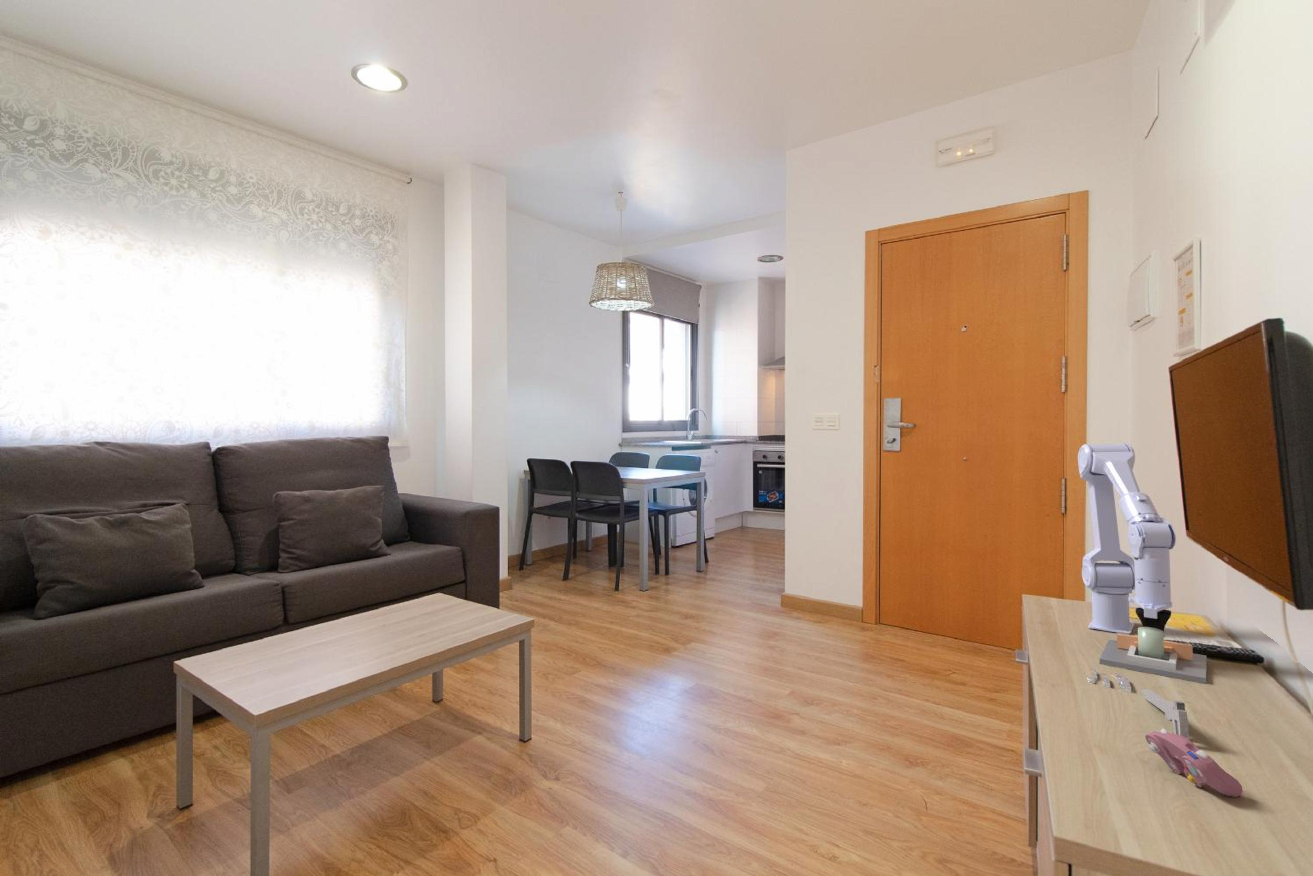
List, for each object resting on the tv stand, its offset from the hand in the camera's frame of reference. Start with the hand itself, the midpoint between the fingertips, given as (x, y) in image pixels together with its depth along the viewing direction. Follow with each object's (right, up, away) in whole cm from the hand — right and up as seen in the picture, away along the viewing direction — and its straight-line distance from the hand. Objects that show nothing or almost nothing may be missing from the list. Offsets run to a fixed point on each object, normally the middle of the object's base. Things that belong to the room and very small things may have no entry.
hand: (1154, 644), depth 125 cm
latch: (-1, -1, -1) cm, 2 cm away
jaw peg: (-4, -2, -4) cm, 6 cm away
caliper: (-20, -4, -26) cm, 33 cm away
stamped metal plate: (-18, -4, -11) cm, 22 cm away
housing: (-2, -3, -3) cm, 4 cm away
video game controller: (-31, -4, -43) cm, 53 cm away
